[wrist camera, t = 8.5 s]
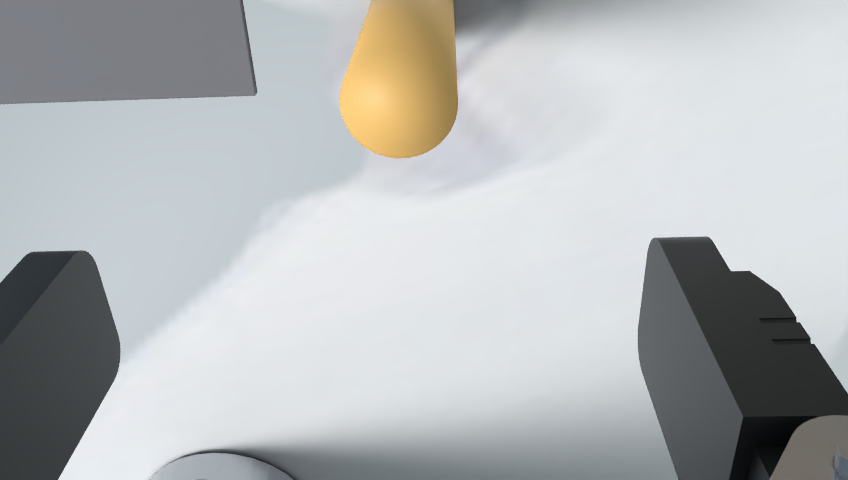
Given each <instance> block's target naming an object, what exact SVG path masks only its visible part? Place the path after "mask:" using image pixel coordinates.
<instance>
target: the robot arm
mask: <svg viewBox="0 0 848 480" xmlns="http://www.w3.org/2000/svg"><path fill="white" fill-rule="evenodd" d="M810 339H811V338H810V337H809V335H808V334H807V332H806V331H805V329H804V328H803V327H802V325H801V324H800V323H797V322H796V316H795V315H794V313H793V312H792V310H791V309H790V307H789V306H788V304H787V303H786V301H785V300H784V298H783V297H782V295H781V294H780V292H778V291H777V290H776V289H774V288H773V287H771V286H770V285H768V284H767V283H766V282H764V281H763V280H761V279H760V278H759V277H757V276H756V275H754V274H753V273H752V272H750V271H730V269H729V268H728V266H727V264H726V263H725V261H724V259H723V258H722V256H721V254H720V253H719V251H718V249H717V248H716V246H715V244H714V243H713V241H712V240H711V239H710V238H709V237H671V238H653V239H652V240H651V242H650V245H649V248H648V253H647V261H646V269H645V277H644V285H643V293H642V301H641V309H640V317H639V325H638V352H639V360H640V366H641V370H642V373H643V376H644V379H645V382H646V385H647V388H648V391H649V394H650V397H651V400H652V403H653V406H654V408H655V411H656V414H657V417H658V420H659V423H660V426H661V429H662V432H663V435H664V438H665V441H666V444H667V447H668V450H669V453H670V455H671V458H672V461H673V464H674V467H675V470H676V473H677V476H678V479H679V480H848V394H847V392H846V391H845V389H844V388H843V386H842V385H841V383H840V382H839V380H838V379H837V377H836V376H835V374H834V373H833V371H832V370H831V368H830V367H829V365H828V364H827V362H826V361H825V359H824V358H823V356H822V355H821V353H820V352H819V350H818V349H817V347H816V346H815V344H811V342H810ZM119 362H120V342H119V336H118V333H117V329H116V326H115V323H114V320H113V317H112V313H111V310H110V307H109V304H108V301H107V297H106V294H105V291H104V288H103V284H102V281H101V278H100V274H99V271H98V268H97V265H96V262H95V261H94V259H93V257H92V256H91V255H90V254H89V253H88V252H86V251H51V252H50V251H46V252H31V253H29V254H27V255H26V256H25V257H24V258H23V259H22V260H21V261H20V262H19V263H18V264H17V265H16V266H15V267H14V269H13V270H12V271H11V272H10V273H9V274H8V275H7V276H6V277H5V278H4V280H3V281H2V282H1V283H0V480H58V479H59V477H60V475H61V473H62V471H63V470H64V468H65V466H66V464H67V463H68V461H69V459H70V457H71V456H72V454H73V452H74V450H75V448H76V447H77V445H78V443H79V441H80V440H81V438H82V436H83V434H84V433H85V431H86V429H87V427H88V426H89V424H90V422H91V420H92V418H93V417H94V415H95V413H96V411H97V410H98V408H99V406H100V404H101V403H102V401H103V399H104V397H105V396H106V394H107V392H108V390H109V388H110V387H111V385H112V383H113V381H114V379H115V377H116V375H117V372H118V368H119ZM150 480H293V479H292V478H291V477H290V476H288V475H287V474H286V473H284V472H282V471H280V470H279V469H277V468H275V467H273V466H272V465H269V464H267V463H264V462H261V461H259V460H256V459H253V458H249V457H245V456H240V455H235V454H225V453H206V454H196V455H192V456H188V457H184V458H180V459H177V460H175V461H173V462H171V463H169V464H167V465H165V466H163V467H162V468H161V469H160V470H159V471H157V472H156V473H155V474H154V475H153V476H152V477H151V479H150Z"/></svg>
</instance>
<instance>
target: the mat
mask: <svg viewBox="0 0 848 480" xmlns="http://www.w3.org/2000/svg"><path fill="white" fill-rule="evenodd" d="M256 93H257V87H256V81H255V75H254V69H253V63H252V57H251V50H250V44H249V38H248V31H247V25H246V19H245V12H244V6H243V0H0V104H16V103H17V104H18V103H47V102H74V101H75V102H76V101H77V102H78V101H107V100H138V99H168V98H198V97H227V96H255V95H256Z"/></svg>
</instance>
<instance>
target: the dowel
mask: <svg viewBox="0 0 848 480" xmlns="http://www.w3.org/2000/svg"><path fill="white" fill-rule="evenodd" d="M340 110H341V114H342V118H343V121H344V123H345V125H346V127H347V128H348V130H349V132H350V133H351V134H352V136H353V137H354V138H355V139H356V140H357V141H358V142H359V143H360V144H361V145H363V146H364V147H365V148H367V149H369V150H370V151H372V152H374V153H377V154H379V155H382V156H386V157H391V158H410V157H414V156H418V155H421V154H424V153H426V152H428V151H430V150H431V149H433V148H434V147H436V146H437V145H438V144H440V143H441V142H442V141H443V140H444V138H445V137H446V136H447V135H448V133H449V132H450V130H451V128H452V126H453V124H454V122H455V119H456V115H457V110H458V94H457V70H456V47H455V24H454V2H453V0H372V1H371V4H370V7H369V10H368V13H367V15H366V18H365V21H364V24H363V27H362V29H361V32H360V35H359V38H358V41H357V44H356V46H355V49H354V52H353V55H352V58H351V60H350V63H349V66H348V69H347V72H346V75H345V77H344V80H343V83H342V87H341V91H340Z"/></svg>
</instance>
